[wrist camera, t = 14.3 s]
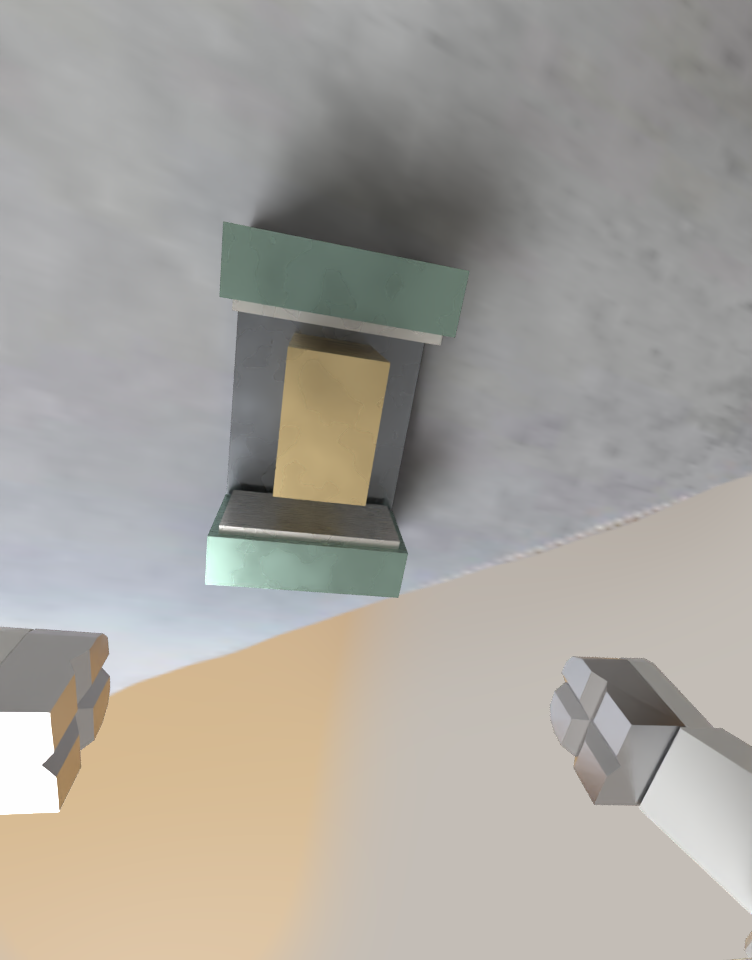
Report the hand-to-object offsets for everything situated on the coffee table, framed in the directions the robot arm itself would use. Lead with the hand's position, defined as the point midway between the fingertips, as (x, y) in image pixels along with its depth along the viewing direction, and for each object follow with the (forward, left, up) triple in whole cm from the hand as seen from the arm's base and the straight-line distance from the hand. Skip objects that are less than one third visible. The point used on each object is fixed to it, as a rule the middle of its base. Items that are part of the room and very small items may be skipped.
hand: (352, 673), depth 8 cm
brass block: (0, 0, -22) cm, 23 cm away
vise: (+2, 0, -24) cm, 24 cm away
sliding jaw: (+8, 0, -22) cm, 24 cm away
